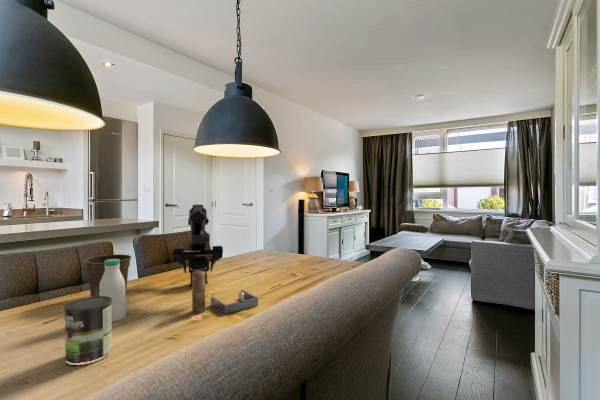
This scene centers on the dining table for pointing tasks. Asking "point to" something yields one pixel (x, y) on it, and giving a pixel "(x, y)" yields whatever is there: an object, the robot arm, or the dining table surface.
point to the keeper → (236, 303)
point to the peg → (198, 291)
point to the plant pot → (97, 270)
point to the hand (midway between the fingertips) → (198, 271)
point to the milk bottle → (114, 288)
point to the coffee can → (88, 328)
